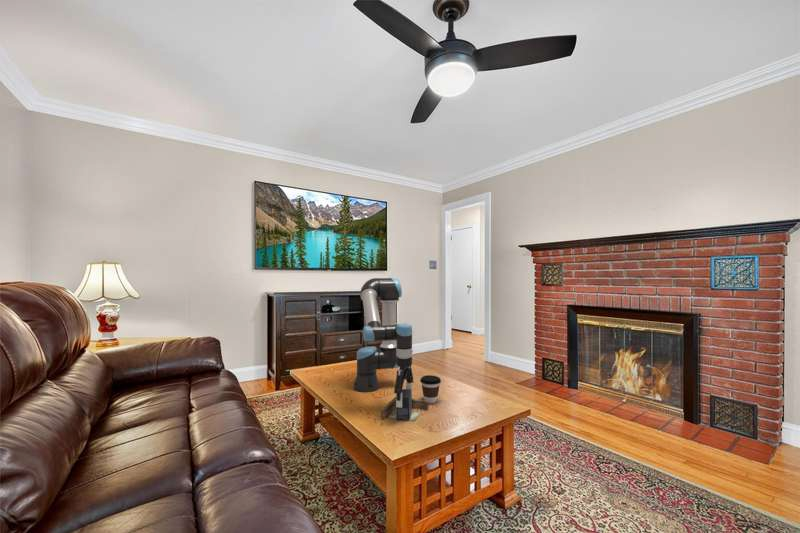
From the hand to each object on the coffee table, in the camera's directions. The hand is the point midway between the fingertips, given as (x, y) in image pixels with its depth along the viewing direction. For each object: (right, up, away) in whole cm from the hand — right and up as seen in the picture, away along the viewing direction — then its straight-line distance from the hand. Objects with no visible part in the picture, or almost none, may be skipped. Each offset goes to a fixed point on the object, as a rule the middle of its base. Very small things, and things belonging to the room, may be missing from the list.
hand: (404, 401), depth 157 cm
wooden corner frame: (+1, -6, +1) cm, 6 cm away
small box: (0, -6, -1) cm, 6 cm away
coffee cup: (+14, -7, +17) cm, 23 cm away
